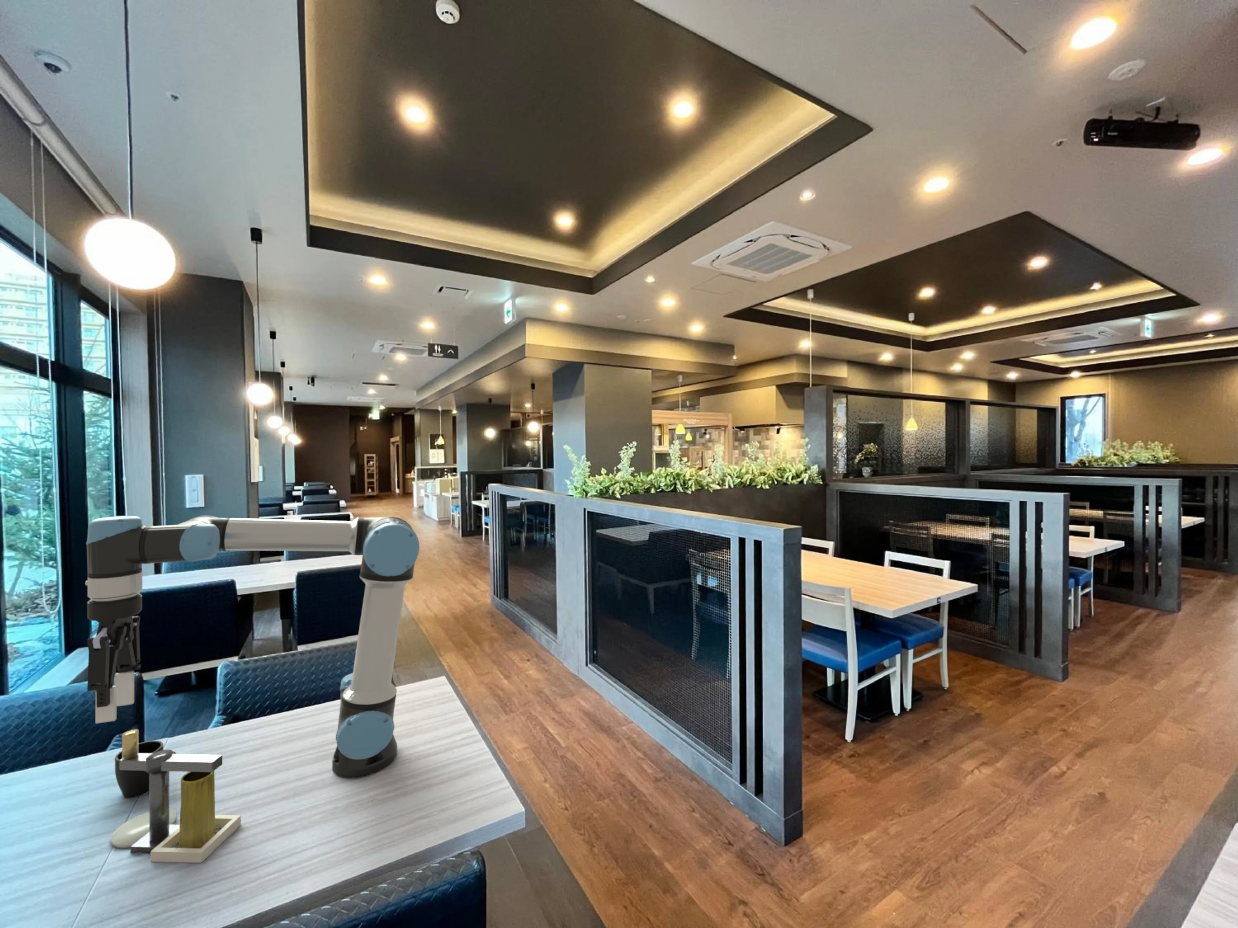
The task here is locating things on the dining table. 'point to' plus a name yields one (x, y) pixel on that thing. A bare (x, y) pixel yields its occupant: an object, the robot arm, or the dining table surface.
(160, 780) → the post
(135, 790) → the mug
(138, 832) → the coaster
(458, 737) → the dining table surface
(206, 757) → the bar
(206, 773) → the vase
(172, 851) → the cream rectangular frame
